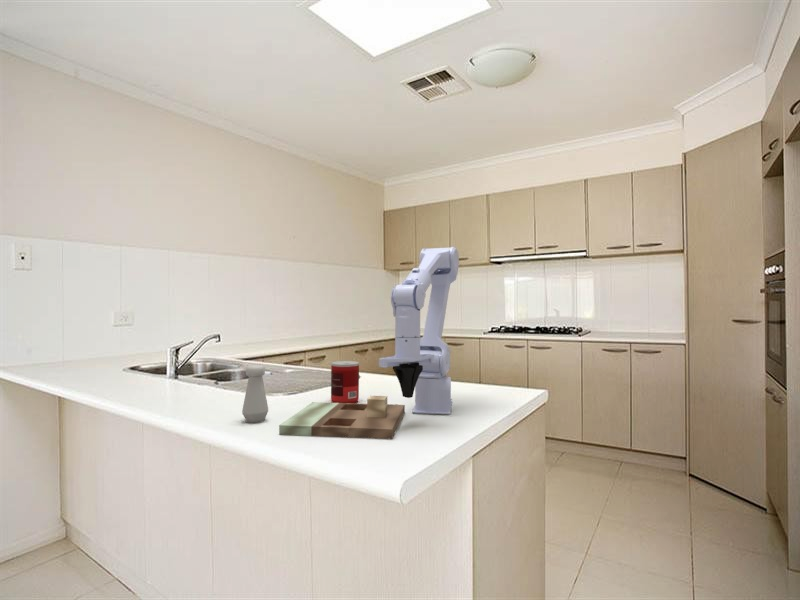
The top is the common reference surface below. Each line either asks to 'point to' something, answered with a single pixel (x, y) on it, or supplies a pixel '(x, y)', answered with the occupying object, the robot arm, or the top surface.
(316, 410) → the trap deck
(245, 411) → the salt shaker
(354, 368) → the canned food
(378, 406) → the maple block
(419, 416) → the top surface
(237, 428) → the top surface
